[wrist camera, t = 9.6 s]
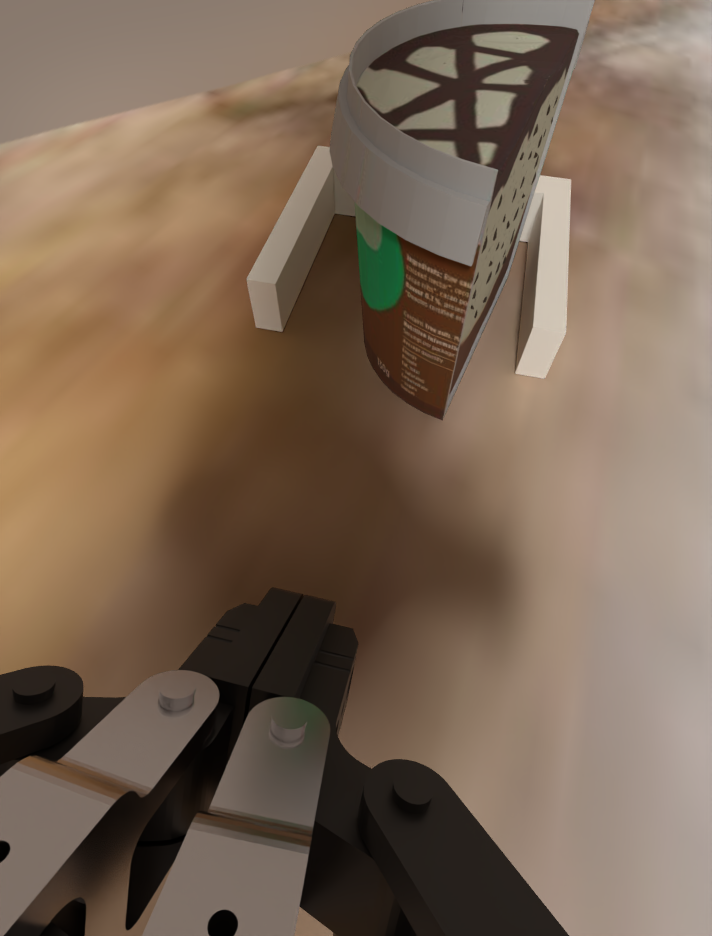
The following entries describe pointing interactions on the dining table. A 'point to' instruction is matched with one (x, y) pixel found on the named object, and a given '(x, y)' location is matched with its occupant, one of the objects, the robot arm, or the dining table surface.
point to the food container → (446, 171)
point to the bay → (324, 196)
